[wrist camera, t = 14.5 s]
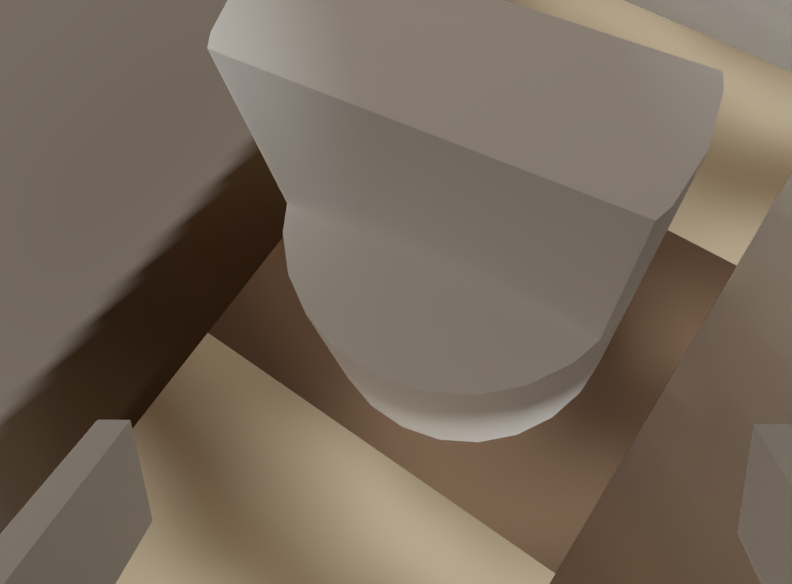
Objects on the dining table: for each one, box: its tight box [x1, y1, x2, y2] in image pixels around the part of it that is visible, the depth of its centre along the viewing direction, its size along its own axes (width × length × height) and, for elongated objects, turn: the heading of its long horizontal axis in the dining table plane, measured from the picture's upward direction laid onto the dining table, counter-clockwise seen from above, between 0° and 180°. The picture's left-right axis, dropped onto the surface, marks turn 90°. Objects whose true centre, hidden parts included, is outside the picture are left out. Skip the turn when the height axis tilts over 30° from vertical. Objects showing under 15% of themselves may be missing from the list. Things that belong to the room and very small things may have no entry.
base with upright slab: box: [207, 0, 724, 442], centre depth 19 cm, size 9×9×12 cm
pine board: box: [116, 0, 792, 584], centre depth 25 cm, size 26×13×2 cm, turn 145°
